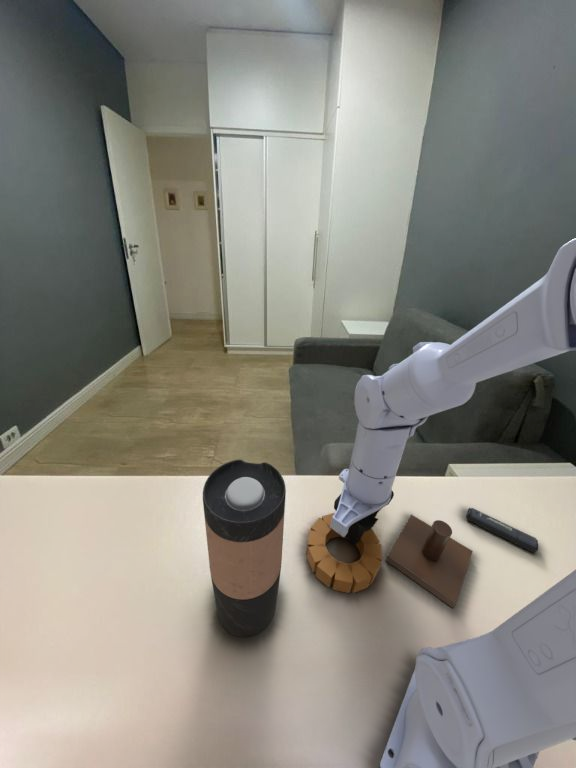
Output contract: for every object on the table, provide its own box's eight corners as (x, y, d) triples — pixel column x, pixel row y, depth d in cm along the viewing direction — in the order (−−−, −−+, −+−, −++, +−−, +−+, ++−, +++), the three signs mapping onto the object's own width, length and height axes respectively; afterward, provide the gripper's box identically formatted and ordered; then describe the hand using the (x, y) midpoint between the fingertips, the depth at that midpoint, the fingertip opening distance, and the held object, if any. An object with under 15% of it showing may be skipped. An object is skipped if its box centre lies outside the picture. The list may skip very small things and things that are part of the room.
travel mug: (236, 658, 33) (228, 542, 23) (203, 596, 38) (186, 480, 28) (291, 608, 37) (304, 493, 27) (255, 559, 42) (256, 447, 32)
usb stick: (535, 543, 47) (539, 536, 46) (535, 556, 45) (539, 550, 44) (467, 510, 51) (470, 503, 51) (464, 521, 50) (467, 514, 49)
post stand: (452, 608, 38) (471, 578, 35) (385, 560, 43) (396, 529, 40) (469, 555, 44) (487, 526, 41) (409, 519, 49) (420, 489, 46)
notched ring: (355, 610, 37) (359, 600, 36) (292, 556, 43) (293, 546, 42) (390, 552, 44) (393, 541, 43) (331, 511, 50) (333, 501, 49)
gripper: (371, 423, 46) (356, 487, 52) (314, 477, 36) (305, 548, 43) (418, 445, 42) (396, 511, 49) (369, 512, 32) (349, 584, 39)
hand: (356, 530), depth 45 cm, fingers closed on notched ring, 3 cm apart
